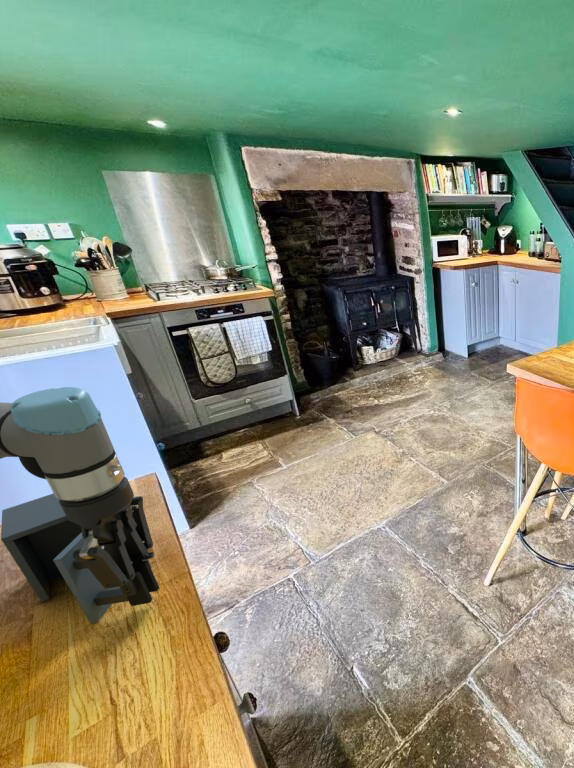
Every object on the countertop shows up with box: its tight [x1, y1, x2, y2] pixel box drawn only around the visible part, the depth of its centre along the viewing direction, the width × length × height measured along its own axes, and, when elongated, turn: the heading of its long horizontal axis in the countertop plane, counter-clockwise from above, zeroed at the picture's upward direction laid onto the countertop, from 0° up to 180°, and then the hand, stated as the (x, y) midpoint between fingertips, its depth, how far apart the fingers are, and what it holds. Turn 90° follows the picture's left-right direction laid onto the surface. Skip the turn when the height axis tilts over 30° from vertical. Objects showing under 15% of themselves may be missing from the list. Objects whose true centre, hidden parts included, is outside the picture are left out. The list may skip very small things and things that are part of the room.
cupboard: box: [0, 492, 82, 603], centre depth 76 cm, size 10×14×16 cm
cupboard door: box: [53, 532, 150, 624], centre depth 72 cm, size 7×14×16 cm, turn 12°
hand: (145, 596), depth 70 cm, fingers closed on cupboard door, 2 cm apart
